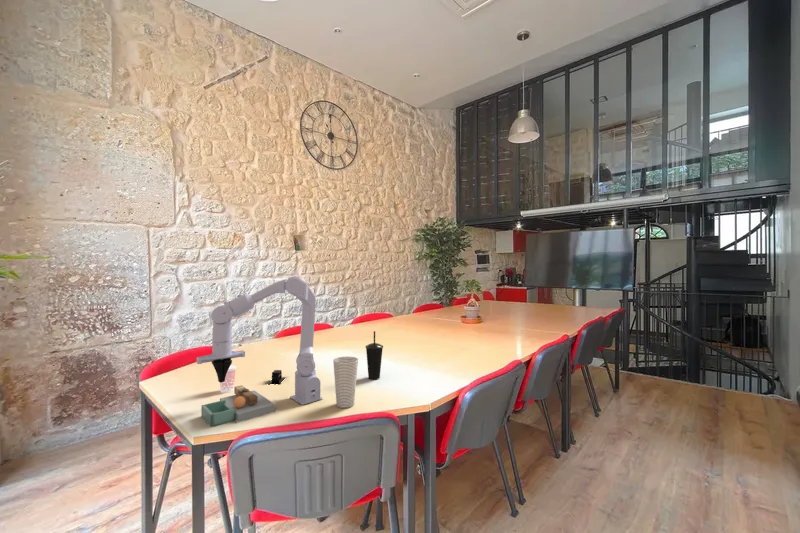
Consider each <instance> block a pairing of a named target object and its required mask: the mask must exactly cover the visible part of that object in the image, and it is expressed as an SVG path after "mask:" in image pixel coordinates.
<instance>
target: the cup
mask: <svg viewBox="0 0 800 533" xmlns="http://www.w3.org/2000/svg"><path fill="white" fill-rule="evenodd" d="M358 362H359V358H357V357H355V356H340V357H339V356H338V357H335V358H334V359H333V375H334V387H335V388H334V389H335V400H336V401H335V402H336V406H337V408H339V409H340V408H341V409H347V408H351V407H353V406H354V405H355V400H356V398H355V397H356V390H357V389H356V386H357V377H358V366H359V365H358V364H359V363H358Z"/></svg>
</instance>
